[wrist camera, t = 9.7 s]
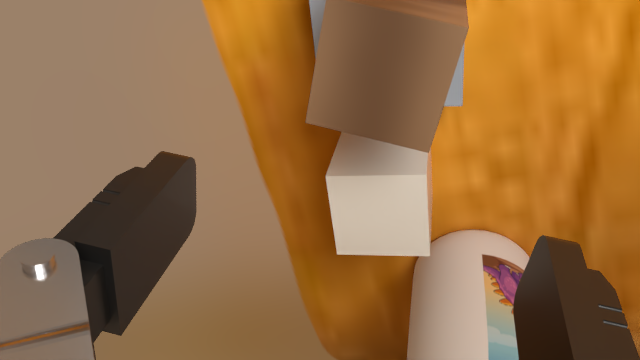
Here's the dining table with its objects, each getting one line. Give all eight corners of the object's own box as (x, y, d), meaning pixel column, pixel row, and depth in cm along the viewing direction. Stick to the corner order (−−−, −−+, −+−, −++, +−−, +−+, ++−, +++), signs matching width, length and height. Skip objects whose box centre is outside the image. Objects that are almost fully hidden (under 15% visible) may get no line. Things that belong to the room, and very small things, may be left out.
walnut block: (464, -11, 24) (468, 28, 18) (433, 94, 26) (428, 153, 21) (352, -35, 24) (326, -5, 19) (332, 71, 27) (305, 122, 22)
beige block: (429, 121, 31) (426, 174, 26) (432, 194, 34) (429, 256, 29) (344, 124, 32) (325, 176, 27) (352, 195, 35) (337, 254, 30)
